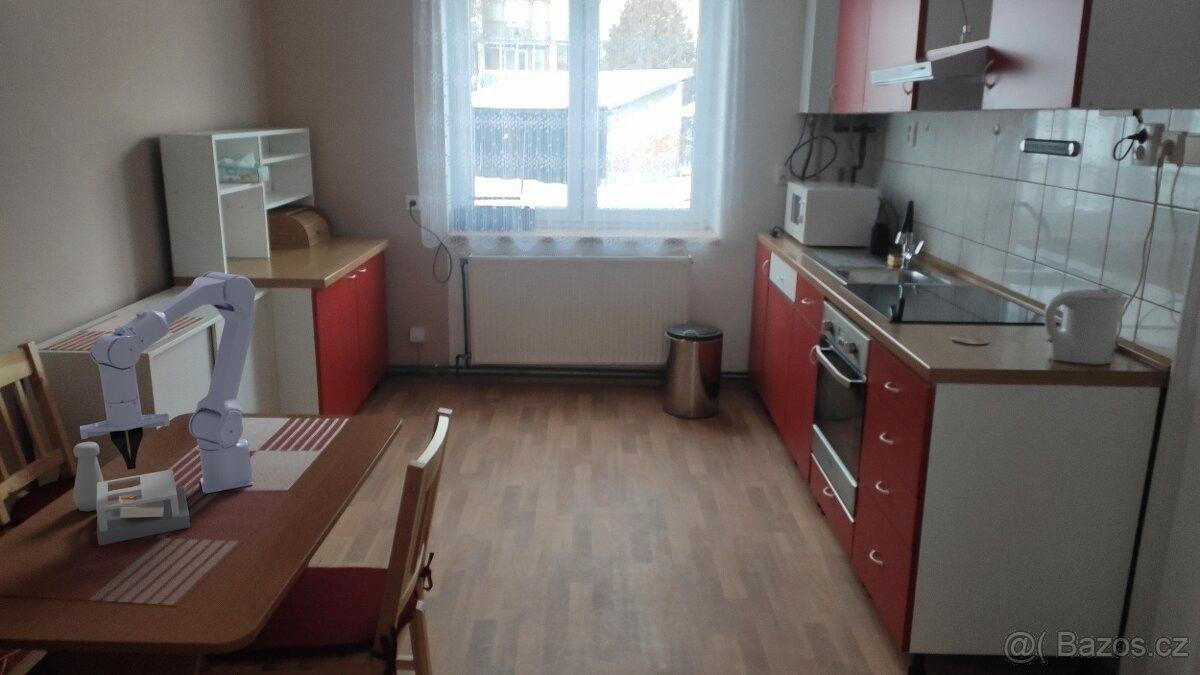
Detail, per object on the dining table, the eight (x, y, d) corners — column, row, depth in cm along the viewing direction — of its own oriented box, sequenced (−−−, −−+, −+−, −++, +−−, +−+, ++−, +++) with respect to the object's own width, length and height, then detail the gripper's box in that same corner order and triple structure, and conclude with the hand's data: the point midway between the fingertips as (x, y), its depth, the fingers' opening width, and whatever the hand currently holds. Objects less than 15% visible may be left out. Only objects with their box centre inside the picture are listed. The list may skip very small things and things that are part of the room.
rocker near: (161, 506, 167) (162, 496, 167) (163, 516, 163) (164, 507, 163) (119, 506, 164) (120, 497, 164) (120, 517, 160) (121, 507, 159)
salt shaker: (92, 514, 169) (86, 449, 167) (67, 511, 170) (60, 446, 168) (115, 503, 175) (109, 440, 172) (90, 500, 176) (84, 438, 173)
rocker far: (160, 485, 173) (157, 477, 172) (162, 495, 169) (158, 487, 168) (122, 500, 170) (118, 491, 169) (123, 510, 166) (119, 501, 165)
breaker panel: (185, 498, 177) (180, 466, 175) (190, 526, 165) (186, 493, 163) (99, 514, 170) (94, 482, 168) (98, 545, 158) (93, 510, 156)
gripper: (163, 386, 169) (172, 453, 172) (76, 398, 162) (87, 467, 165) (166, 396, 163) (175, 465, 166) (76, 409, 156) (87, 480, 160)
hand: (131, 467), depth 166 cm, fingers closed
